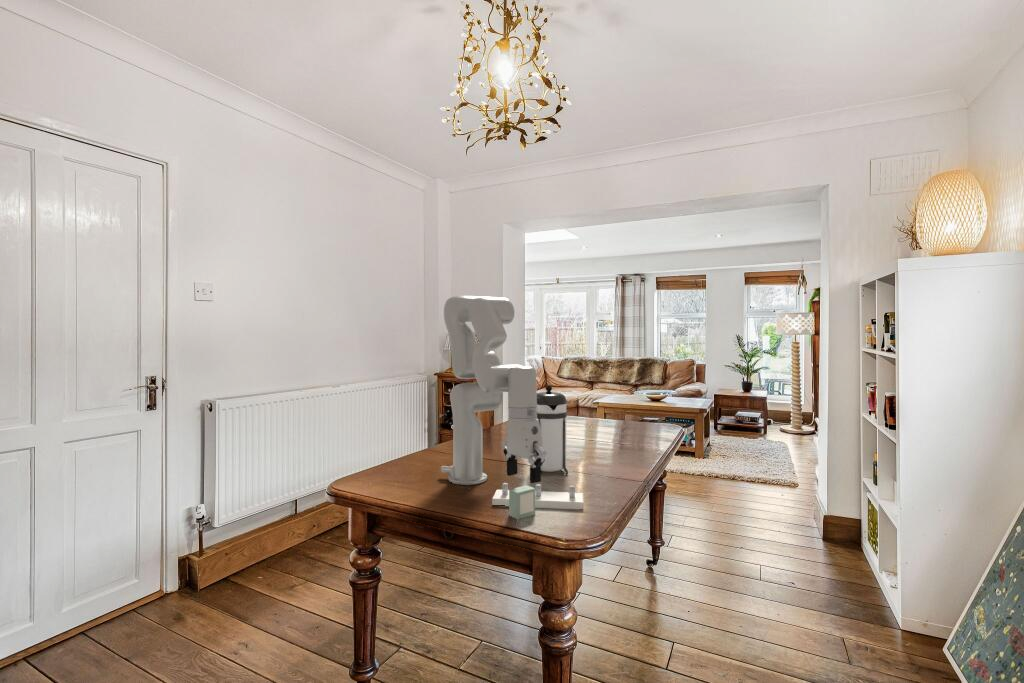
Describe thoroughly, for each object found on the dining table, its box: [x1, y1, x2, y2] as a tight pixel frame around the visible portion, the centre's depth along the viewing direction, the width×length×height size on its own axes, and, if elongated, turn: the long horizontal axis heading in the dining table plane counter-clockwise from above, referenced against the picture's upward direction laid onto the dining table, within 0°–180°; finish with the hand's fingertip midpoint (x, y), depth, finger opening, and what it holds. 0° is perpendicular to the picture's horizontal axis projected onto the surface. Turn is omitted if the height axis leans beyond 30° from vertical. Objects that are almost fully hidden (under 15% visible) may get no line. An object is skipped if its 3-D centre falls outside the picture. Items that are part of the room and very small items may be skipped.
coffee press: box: [529, 384, 569, 476], centre depth 174 cm, size 17×16×30 cm
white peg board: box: [491, 482, 584, 510], centre depth 141 cm, size 25×8×5 cm, turn 83°
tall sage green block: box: [508, 484, 536, 520], centre depth 132 cm, size 6×4×7 cm, turn 128°
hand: (523, 478), depth 131 cm, fingers open, 9 cm apart
